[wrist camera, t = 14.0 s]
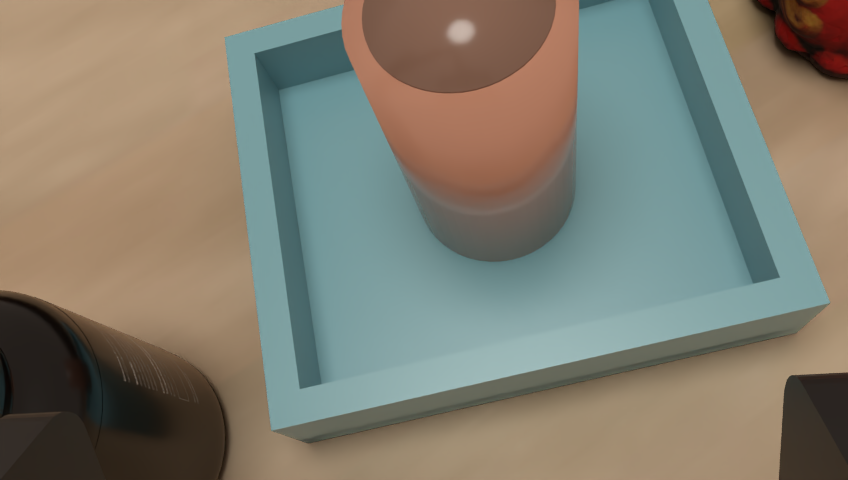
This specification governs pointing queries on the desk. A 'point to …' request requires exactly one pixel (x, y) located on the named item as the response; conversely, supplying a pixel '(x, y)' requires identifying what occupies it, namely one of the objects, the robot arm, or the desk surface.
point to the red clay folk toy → (814, 31)
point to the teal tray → (522, 277)
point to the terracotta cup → (475, 113)
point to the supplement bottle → (110, 392)
